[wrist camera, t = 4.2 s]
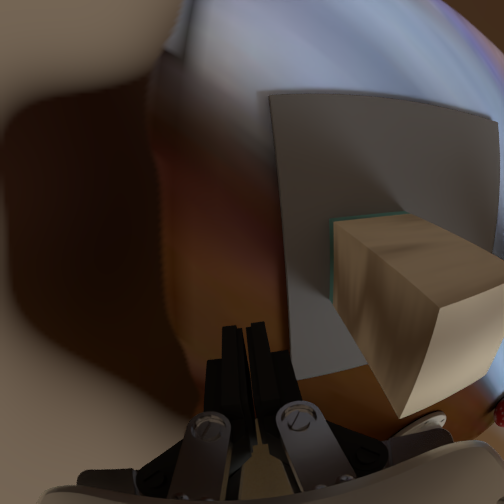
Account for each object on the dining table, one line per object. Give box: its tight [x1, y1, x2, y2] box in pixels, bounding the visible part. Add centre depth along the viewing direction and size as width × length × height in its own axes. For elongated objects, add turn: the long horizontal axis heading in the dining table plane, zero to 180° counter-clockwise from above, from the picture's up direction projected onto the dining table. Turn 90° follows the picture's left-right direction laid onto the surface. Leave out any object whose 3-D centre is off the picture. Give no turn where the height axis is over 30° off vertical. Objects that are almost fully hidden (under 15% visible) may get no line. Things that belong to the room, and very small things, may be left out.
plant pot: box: [241, 418, 293, 500], centre depth 18 cm, size 15×15×16 cm
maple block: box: [329, 211, 504, 419], centre depth 13 cm, size 6×6×11 cm
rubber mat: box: [269, 94, 500, 380], centre depth 19 cm, size 22×22×1 cm
